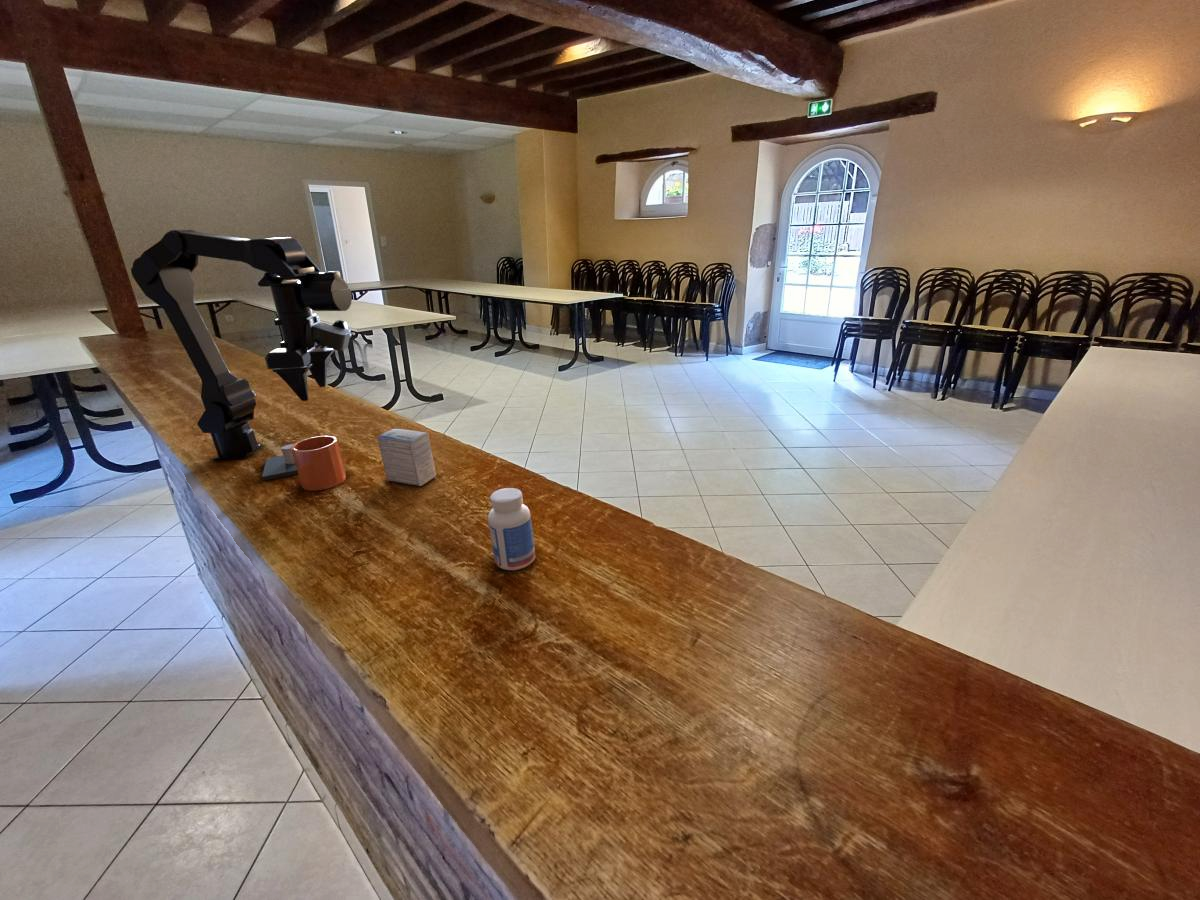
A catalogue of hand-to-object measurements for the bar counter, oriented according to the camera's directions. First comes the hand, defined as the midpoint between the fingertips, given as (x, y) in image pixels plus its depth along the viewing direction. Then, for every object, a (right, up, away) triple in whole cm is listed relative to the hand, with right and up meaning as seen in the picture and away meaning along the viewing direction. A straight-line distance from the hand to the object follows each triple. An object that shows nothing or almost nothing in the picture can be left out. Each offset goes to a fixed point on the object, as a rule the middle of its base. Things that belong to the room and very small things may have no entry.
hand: (314, 393), depth 107 cm
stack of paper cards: (+21, -16, -7) cm, 28 cm away
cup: (+5, -17, -7) cm, 19 cm away
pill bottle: (+44, -26, -33) cm, 61 cm away
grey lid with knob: (-4, -14, +1) cm, 15 cm away
